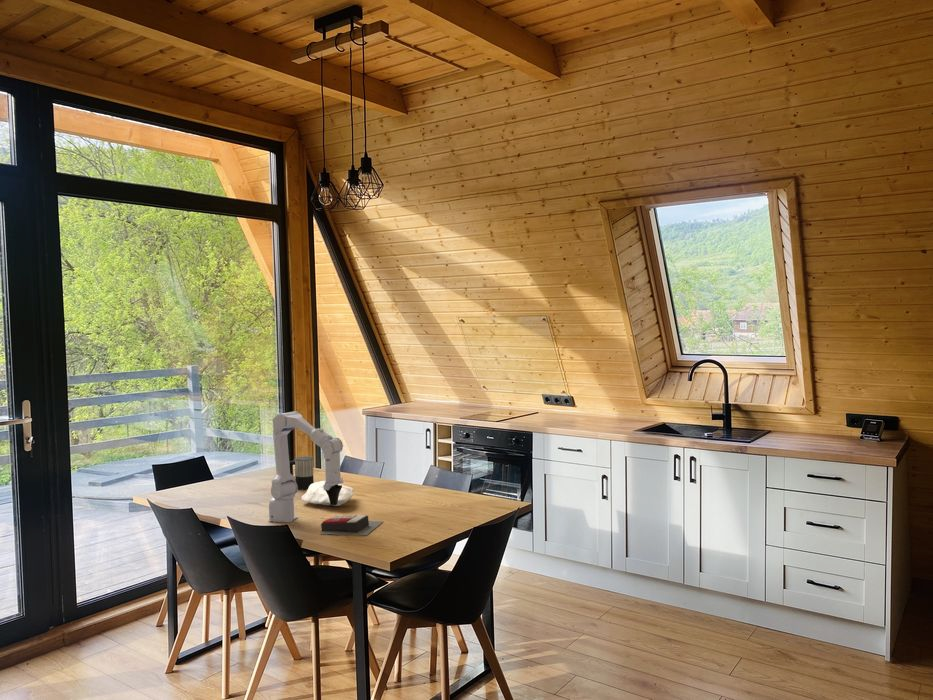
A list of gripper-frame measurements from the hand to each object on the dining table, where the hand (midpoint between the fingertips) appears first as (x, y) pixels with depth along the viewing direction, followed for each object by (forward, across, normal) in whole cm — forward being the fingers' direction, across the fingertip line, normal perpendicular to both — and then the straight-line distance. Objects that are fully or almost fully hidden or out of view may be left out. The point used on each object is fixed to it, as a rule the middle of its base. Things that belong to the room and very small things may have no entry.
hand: (333, 504), depth 287 cm
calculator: (+7, 0, +3) cm, 8 cm away
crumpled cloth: (+9, +39, +17) cm, 43 cm away
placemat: (+9, 0, -8) cm, 12 cm away
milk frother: (+9, +65, +45) cm, 79 cm away
